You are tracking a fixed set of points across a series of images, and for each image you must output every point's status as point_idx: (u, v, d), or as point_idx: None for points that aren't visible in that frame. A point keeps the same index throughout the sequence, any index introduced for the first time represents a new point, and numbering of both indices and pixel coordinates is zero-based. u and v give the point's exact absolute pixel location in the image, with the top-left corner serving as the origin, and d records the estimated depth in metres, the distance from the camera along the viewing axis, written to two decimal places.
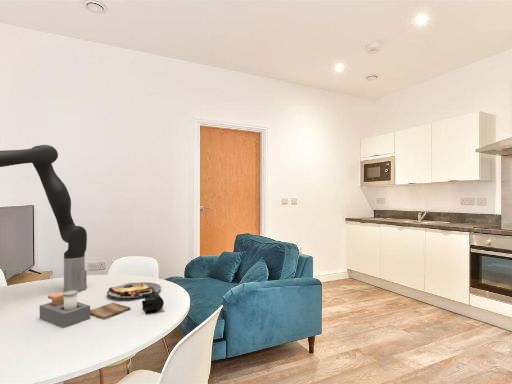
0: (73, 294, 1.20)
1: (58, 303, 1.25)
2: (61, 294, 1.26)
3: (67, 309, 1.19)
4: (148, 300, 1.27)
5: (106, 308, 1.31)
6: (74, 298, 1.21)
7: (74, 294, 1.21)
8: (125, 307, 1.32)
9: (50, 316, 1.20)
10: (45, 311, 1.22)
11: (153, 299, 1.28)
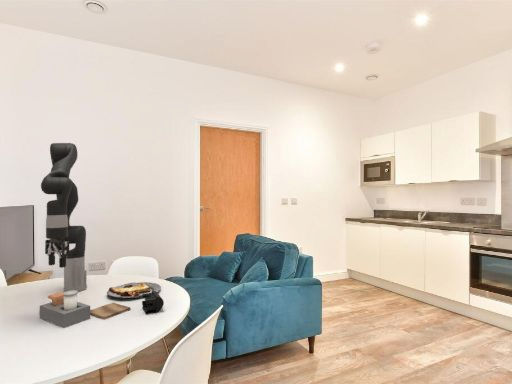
0: (73, 294, 1.20)
1: (58, 303, 1.25)
2: (61, 294, 1.26)
3: (67, 309, 1.19)
4: (148, 300, 1.27)
5: (106, 308, 1.31)
6: (74, 298, 1.21)
7: (74, 294, 1.21)
8: (125, 307, 1.32)
9: (50, 316, 1.20)
10: (45, 311, 1.22)
11: (153, 299, 1.28)
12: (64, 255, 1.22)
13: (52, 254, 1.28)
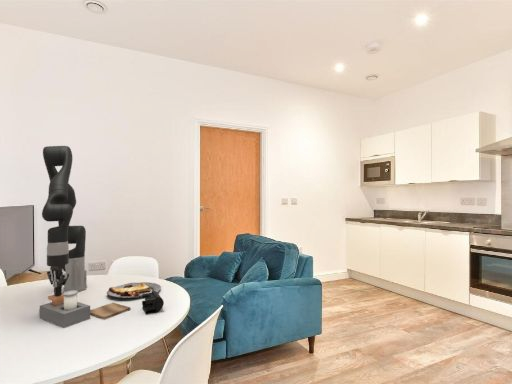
0: (73, 294, 1.20)
1: (58, 304, 1.25)
2: (61, 295, 1.26)
3: (67, 309, 1.19)
4: (148, 300, 1.27)
5: (106, 308, 1.31)
6: (74, 298, 1.21)
7: (74, 294, 1.21)
8: (125, 307, 1.32)
9: (50, 316, 1.20)
10: (45, 311, 1.22)
11: (153, 299, 1.28)
12: (60, 284, 1.24)
13: None
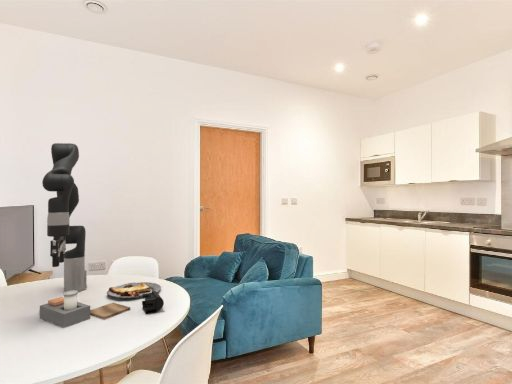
0: (73, 294, 1.20)
1: None
2: (61, 299, 1.26)
3: (67, 309, 1.19)
4: (148, 300, 1.27)
5: (106, 308, 1.31)
6: (74, 298, 1.21)
7: (74, 294, 1.21)
8: (125, 307, 1.32)
9: (50, 316, 1.20)
10: (45, 311, 1.22)
11: (153, 299, 1.28)
12: (52, 254, 1.17)
13: (61, 252, 1.28)
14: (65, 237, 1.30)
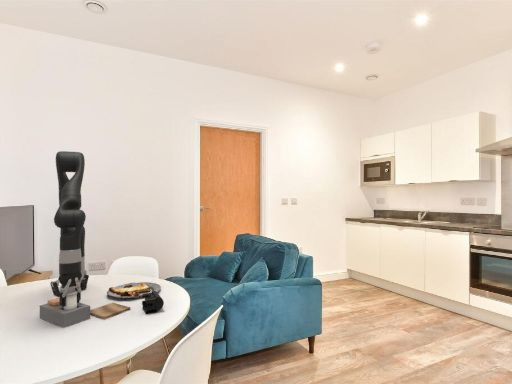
0: (73, 294, 1.20)
1: None
2: None
3: (67, 309, 1.19)
4: (148, 300, 1.27)
5: (106, 308, 1.31)
6: (74, 298, 1.21)
7: (74, 294, 1.21)
8: (125, 307, 1.32)
9: (50, 316, 1.20)
10: (45, 311, 1.22)
11: (153, 299, 1.28)
12: (54, 294, 1.17)
13: (77, 291, 1.24)
14: (87, 275, 1.26)
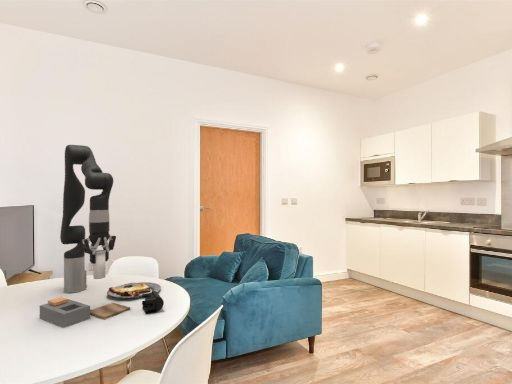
0: (102, 252, 1.27)
1: None
2: (61, 299, 1.26)
3: (97, 266, 1.26)
4: (148, 300, 1.27)
5: (106, 308, 1.31)
6: (103, 256, 1.27)
7: (103, 252, 1.27)
8: (125, 307, 1.32)
9: (50, 316, 1.20)
10: (45, 311, 1.22)
11: (153, 299, 1.28)
12: (85, 251, 1.24)
13: None
14: (114, 236, 1.32)
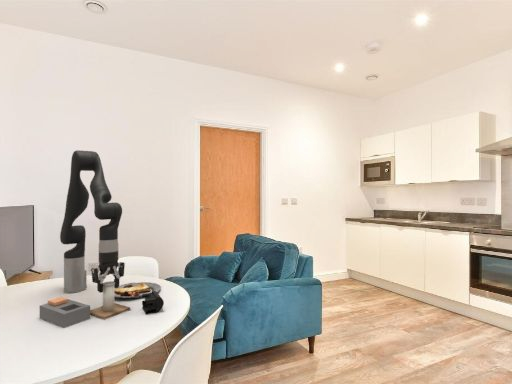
0: (111, 284, 1.29)
1: None
2: (61, 299, 1.26)
3: (106, 298, 1.28)
4: (148, 300, 1.27)
5: None
6: (112, 288, 1.30)
7: (112, 284, 1.29)
8: (125, 307, 1.32)
9: (50, 316, 1.20)
10: (45, 311, 1.22)
11: (153, 299, 1.28)
12: (93, 281, 1.25)
13: (116, 277, 1.33)
14: (123, 263, 1.35)
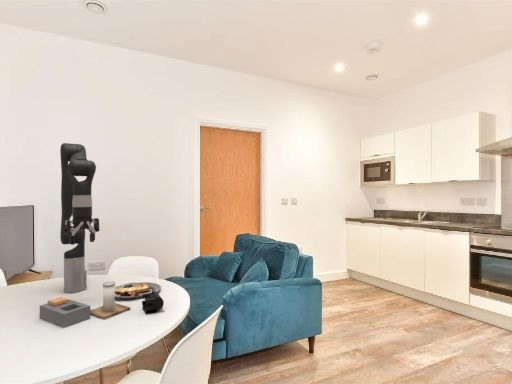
0: (112, 285, 1.29)
1: None
2: (61, 299, 1.26)
3: (106, 299, 1.28)
4: (148, 300, 1.27)
5: None
6: (113, 288, 1.29)
7: (113, 285, 1.29)
8: (125, 307, 1.32)
9: (50, 316, 1.20)
10: (45, 311, 1.22)
11: (153, 299, 1.28)
12: (64, 233, 1.29)
13: (91, 232, 1.38)
14: (97, 219, 1.40)
